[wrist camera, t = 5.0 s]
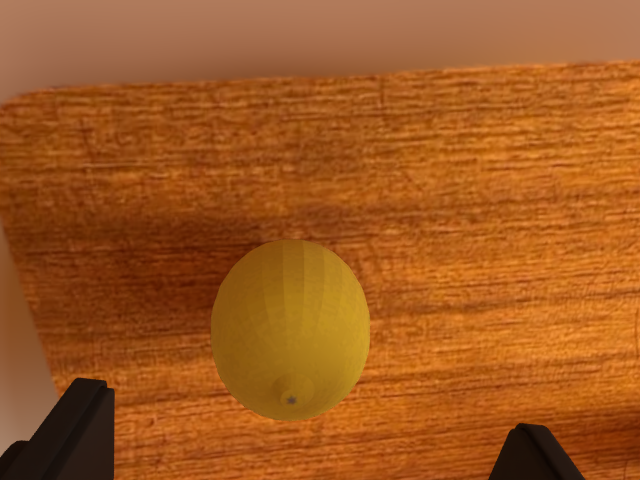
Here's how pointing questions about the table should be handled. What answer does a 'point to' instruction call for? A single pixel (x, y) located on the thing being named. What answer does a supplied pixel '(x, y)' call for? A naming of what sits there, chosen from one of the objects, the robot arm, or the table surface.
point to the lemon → (290, 330)
